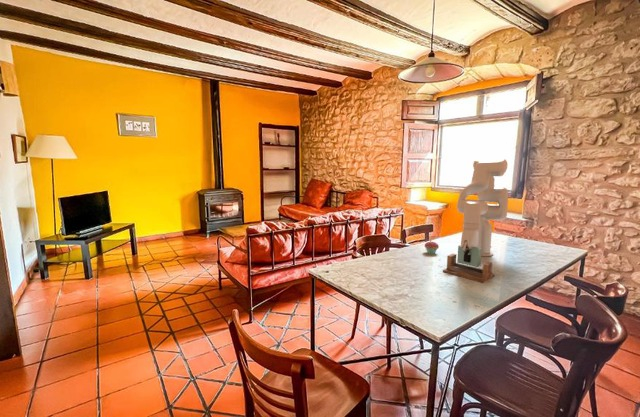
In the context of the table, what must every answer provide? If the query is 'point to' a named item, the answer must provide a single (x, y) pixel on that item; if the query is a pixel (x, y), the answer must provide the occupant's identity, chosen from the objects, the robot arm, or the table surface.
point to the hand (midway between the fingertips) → (469, 260)
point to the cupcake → (431, 247)
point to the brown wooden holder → (468, 270)
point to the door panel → (474, 254)
